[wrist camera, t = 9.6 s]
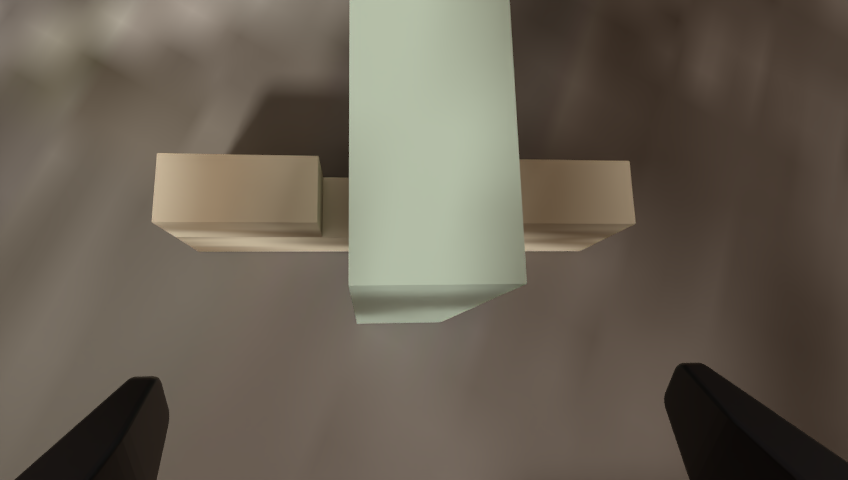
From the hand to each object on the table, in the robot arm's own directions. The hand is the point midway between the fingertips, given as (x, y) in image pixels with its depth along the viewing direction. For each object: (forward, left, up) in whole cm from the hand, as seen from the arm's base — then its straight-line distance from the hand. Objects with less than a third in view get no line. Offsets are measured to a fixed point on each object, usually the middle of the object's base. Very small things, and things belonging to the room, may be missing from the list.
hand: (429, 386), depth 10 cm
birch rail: (+5, -1, -10) cm, 11 cm away
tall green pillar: (+5, -1, -10) cm, 11 cm away
